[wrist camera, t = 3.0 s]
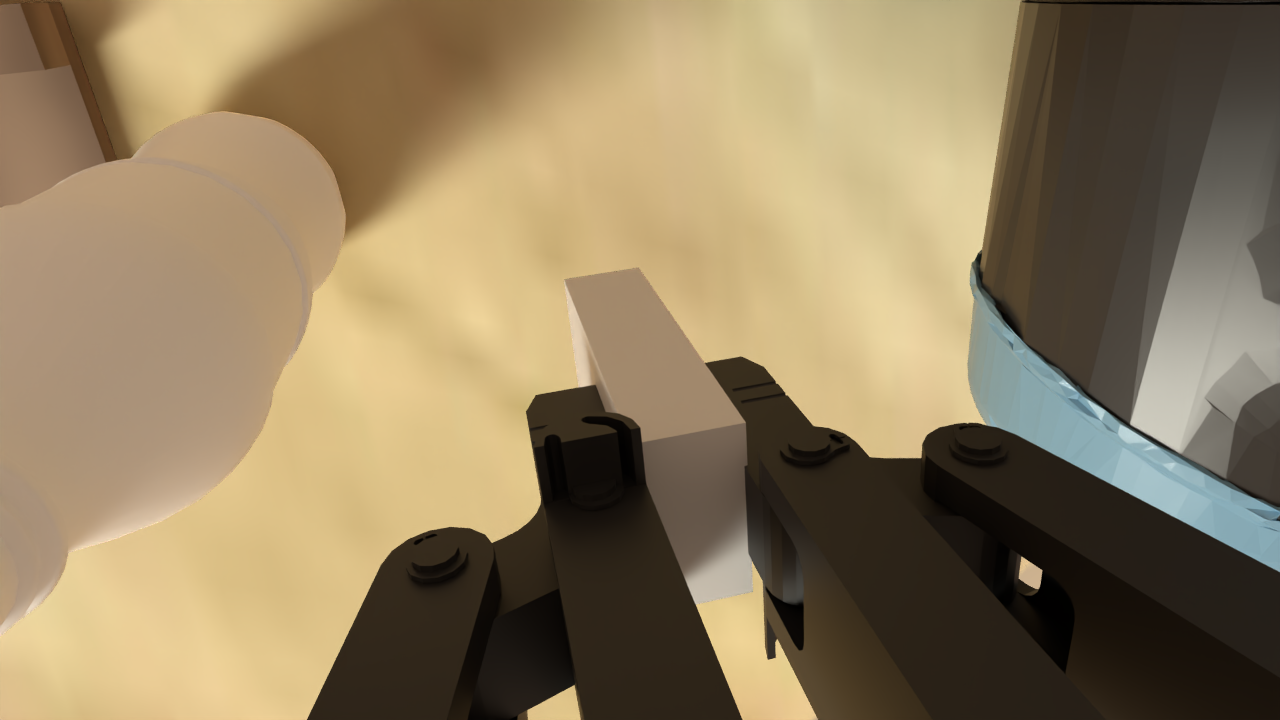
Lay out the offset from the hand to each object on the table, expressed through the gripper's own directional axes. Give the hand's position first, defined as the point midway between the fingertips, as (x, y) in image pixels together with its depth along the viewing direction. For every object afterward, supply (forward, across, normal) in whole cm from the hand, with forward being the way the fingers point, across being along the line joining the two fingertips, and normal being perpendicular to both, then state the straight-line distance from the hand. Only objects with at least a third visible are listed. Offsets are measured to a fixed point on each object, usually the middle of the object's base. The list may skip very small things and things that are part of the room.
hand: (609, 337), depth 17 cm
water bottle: (+20, +11, 0) cm, 23 cm away
